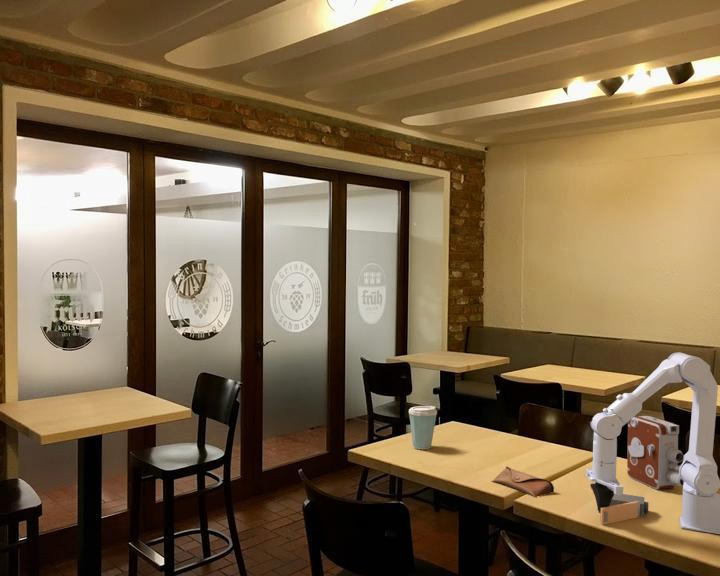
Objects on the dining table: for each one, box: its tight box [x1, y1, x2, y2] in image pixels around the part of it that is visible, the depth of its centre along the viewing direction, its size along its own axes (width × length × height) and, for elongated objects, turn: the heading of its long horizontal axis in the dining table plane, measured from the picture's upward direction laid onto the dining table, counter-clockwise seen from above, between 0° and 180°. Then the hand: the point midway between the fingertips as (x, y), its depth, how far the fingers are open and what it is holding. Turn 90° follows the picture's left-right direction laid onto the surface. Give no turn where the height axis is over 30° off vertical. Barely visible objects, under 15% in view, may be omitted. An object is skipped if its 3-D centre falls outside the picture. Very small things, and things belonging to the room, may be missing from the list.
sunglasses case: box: [490, 466, 555, 498], centre depth 187 cm, size 18×7×7 cm
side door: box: [599, 501, 641, 525], centre depth 161 cm, size 13×1×4 cm, turn 115°
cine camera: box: [626, 415, 684, 490], centre depth 189 cm, size 9×19×20 cm, turn 15°
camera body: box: [610, 493, 649, 518], centre depth 169 cm, size 12×6×4 cm, turn 65°
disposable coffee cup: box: [408, 405, 438, 450], centre depth 229 cm, size 11×11×15 cm
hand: (603, 512), depth 161 cm, fingers closed
